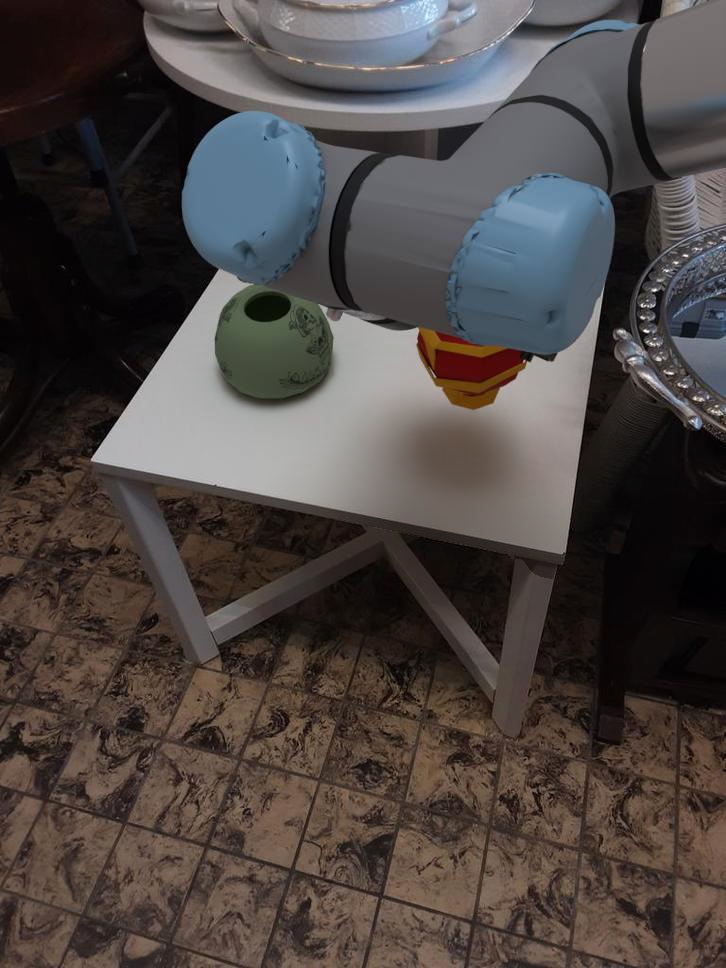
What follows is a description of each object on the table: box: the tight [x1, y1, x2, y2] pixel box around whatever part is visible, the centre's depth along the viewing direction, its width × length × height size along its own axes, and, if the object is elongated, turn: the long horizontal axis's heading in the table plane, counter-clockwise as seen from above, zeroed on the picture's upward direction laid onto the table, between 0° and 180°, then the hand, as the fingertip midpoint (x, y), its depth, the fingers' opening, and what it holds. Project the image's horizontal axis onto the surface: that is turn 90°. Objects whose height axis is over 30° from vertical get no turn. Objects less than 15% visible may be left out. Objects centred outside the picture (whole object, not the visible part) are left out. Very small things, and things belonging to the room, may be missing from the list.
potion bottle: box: [415, 327, 528, 411], centre depth 66 cm, size 10×10×15 cm
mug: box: [214, 284, 334, 399], centre depth 83 cm, size 16×13×9 cm
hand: (494, 320), depth 68 cm, fingers closed on potion bottle, 10 cm apart
